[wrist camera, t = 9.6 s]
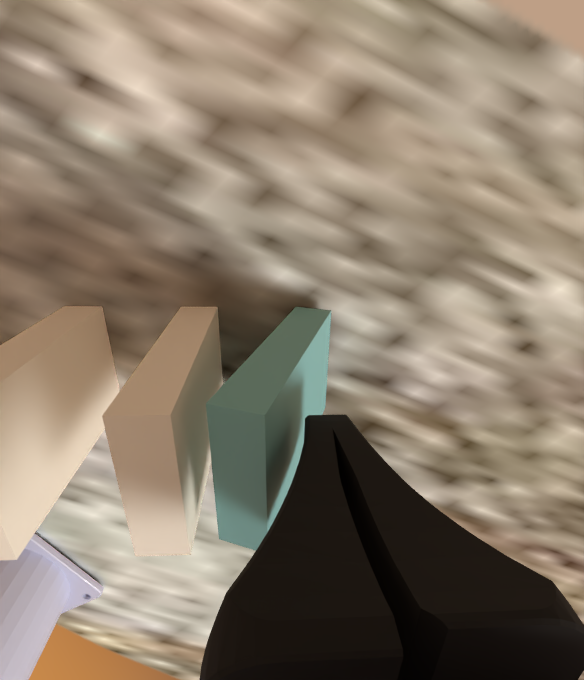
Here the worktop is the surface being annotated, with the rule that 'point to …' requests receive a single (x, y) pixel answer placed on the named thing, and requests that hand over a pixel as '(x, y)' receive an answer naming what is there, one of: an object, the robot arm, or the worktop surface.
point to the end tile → (266, 424)
